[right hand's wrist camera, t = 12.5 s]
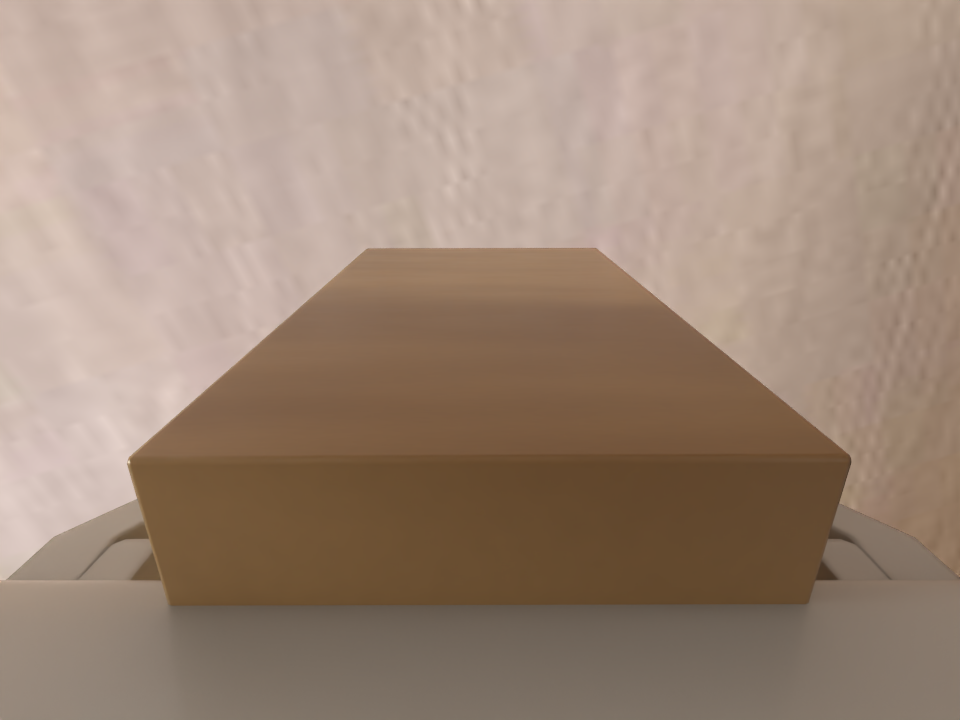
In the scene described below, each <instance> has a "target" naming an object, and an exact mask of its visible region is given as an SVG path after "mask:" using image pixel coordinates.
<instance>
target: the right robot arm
mask: <svg viewBox="0 0 960 720" xmlns="http://www.w3.org/2000/svg"><path fill="white" fill-rule="evenodd" d="M0 720H960V578H959V577H958V576H957V575H956V574H955V573H954V572H953V571H952V570H950V569H949V568H948V567H947V566H946V565H945V564H944V563H943V562H941V561H940V560H939V559H938V558H937V557H936V556H935V555H934V554H933V553H931V552H930V551H929V550H928V549H927V548H926V547H925V546H924V545H922V544H921V543H920V542H919V541H918V540H917V539H916V538H915V537H912V536H910V535H908V534H906V533H903V532H901V531H899V530H897V529H895V528H892V527H890V526H888V525H886V524H884V523H881V522H879V521H877V520H875V519H872V518H870V517H868V516H866V515H864V514H861V513H859V512H857V511H855V510H852V509H850V508H848V507H846V506H844V505H841V504H838V508H837V511H836V514H835V518H834V521H833V524H832V527H831V531H830V534H829V537H828V541H827V544H826V547H825V550H824V554H823V557H822V560H821V564H820V567H819V570H818V574H817V577H816V580H815V583H814V587H813V590H812V593H811V597H810V600H809V603H807V604H672V605H247V606H171V605H168V602H167V599H166V595H165V592H164V588H163V585H162V582H161V578H160V575H159V571H158V568H157V564H156V561H155V558H154V554H153V551H152V547H151V544H150V540H149V537H148V534H147V530H146V527H145V523H144V520H143V517H142V513H141V510H140V506H139V503H138V499H136V500H134V501H132V502H130V503H127V504H125V505H123V506H121V507H119V508H116V509H114V510H112V511H110V512H108V513H105V514H103V515H101V516H99V517H97V518H94V519H92V520H90V521H88V522H86V523H83V524H81V525H79V526H77V527H75V528H72V529H70V530H68V531H66V532H63V533H61V534H59V535H57V536H55V537H53V538H52V539H51V540H50V541H49V542H48V543H47V544H45V545H44V546H43V547H42V548H41V549H40V550H39V551H38V552H37V553H36V554H34V555H33V556H32V557H31V558H30V559H29V560H28V561H27V562H26V563H24V564H23V565H22V566H21V567H20V568H19V569H18V570H17V571H16V572H15V573H13V574H12V575H11V576H10V577H9V578H8V579H7V580H0Z"/></svg>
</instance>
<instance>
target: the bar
mask: <svg viewBox="0 0 960 720" xmlns="http://www.w3.org/2000/svg"><path fill="white" fill-rule="evenodd" d="M127 465H128V469H129V472H130V475H131V479H132V482H133V486H134V489H135V493H136V496H137V499H138V503H139V506H140V510H141V513H142V517H143V520H144V523H145V527H146V530H147V534H148V537H149V540H150V544H151V547H152V551H153V554H154V558H155V561H156V564H157V568H158V571H159V575H160V578H161V582H162V585H163V588H164V592H165V595H166V599H167V602H168V605H171V606H247V605H672V604H807V603H809V600H810V597H811V593H812V590H813V587H814V583H815V580H816V577H817V574H818V570H819V567H820V564H821V560H822V557H823V554H824V550H825V547H826V544H827V541H828V537H829V534H830V531H831V527H832V524H833V521H834V518H835V514H836V511H837V508H838V504H839V501H840V498H841V495H842V491H843V488H844V485H845V481H846V478H847V475H848V472H849V468H850V465H851V458H850V456H849V454H847V453H846V452H845V451H844V450H843V449H841V448H840V447H839V446H838V445H836V444H835V443H834V442H833V441H832V440H830V439H829V438H828V437H827V436H825V435H824V434H823V433H822V432H820V431H819V430H818V429H817V428H816V427H814V426H813V425H812V424H811V423H809V422H808V421H807V420H806V419H805V418H803V417H802V416H801V415H800V414H798V413H797V412H796V411H795V410H794V409H792V408H791V407H790V406H789V405H787V404H786V403H785V402H784V401H783V400H781V399H780V398H779V397H778V396H776V395H775V394H774V393H773V392H772V391H770V390H769V389H768V388H767V387H765V386H764V385H763V384H762V383H761V382H759V381H758V380H757V379H756V378H754V377H753V376H752V375H751V374H750V373H748V372H747V371H746V370H745V369H743V368H742V367H741V366H740V365H739V364H737V363H736V362H735V361H734V360H732V359H731V358H730V357H729V356H728V355H726V354H725V353H724V352H723V351H721V350H720V349H719V348H718V347H717V346H715V345H714V344H713V343H712V342H710V341H709V340H708V339H707V338H706V337H704V336H703V335H702V334H701V333H699V332H698V331H697V330H696V329H694V328H693V327H692V326H691V325H690V324H688V323H687V322H686V321H685V320H683V319H682V318H681V317H680V316H679V315H677V314H676V313H675V312H674V311H672V310H671V309H670V308H669V307H668V306H666V305H665V304H664V303H663V302H661V301H660V300H659V299H658V298H657V297H655V296H654V295H653V294H652V293H650V292H649V291H648V290H647V289H646V288H644V287H643V286H642V285H641V284H639V283H638V282H637V281H636V280H635V279H633V278H632V277H631V276H630V275H628V274H627V273H626V272H625V271H624V270H622V269H621V268H620V267H619V266H617V265H616V264H615V263H614V262H613V261H611V260H610V259H609V258H608V257H606V256H605V255H604V254H603V253H602V252H600V251H599V250H598V249H596V248H385V249H366V250H365V251H364V252H363V253H362V254H360V255H359V256H358V257H357V258H356V259H355V260H354V261H352V262H351V263H350V264H349V265H348V266H347V267H346V268H344V269H343V270H342V271H341V272H340V273H339V274H338V275H336V276H335V277H334V278H333V279H332V280H331V281H330V282H329V283H327V284H326V285H325V286H324V287H323V288H322V289H321V290H319V291H318V292H317V293H316V294H315V295H314V296H313V297H311V298H310V299H309V300H308V301H307V302H306V303H305V304H303V305H302V306H301V307H300V308H299V309H298V310H297V311H295V312H294V313H293V314H292V315H291V316H290V317H289V318H287V319H286V320H285V321H284V322H283V323H282V324H281V325H279V326H278V327H277V328H276V329H275V330H274V331H273V332H271V333H270V334H269V335H268V336H267V337H266V338H265V339H263V340H262V341H261V342H260V343H259V344H258V345H257V346H255V347H254V348H253V349H252V350H251V351H250V352H249V353H248V354H246V355H245V356H244V357H243V358H242V359H241V360H240V361H238V362H237V363H236V364H235V365H234V366H233V367H232V368H230V369H229V370H228V371H227V372H226V373H225V374H224V375H222V376H221V377H220V378H219V379H218V380H217V381H216V382H214V383H213V384H212V385H211V386H210V387H209V388H208V389H206V390H205V391H204V392H203V393H202V394H201V395H200V396H198V397H197V398H196V399H195V400H194V401H193V402H192V403H190V404H189V405H188V406H187V407H186V408H185V409H184V410H182V411H181V412H180V413H179V414H178V415H177V416H176V417H174V418H173V419H172V420H171V421H170V422H169V423H168V424H167V425H165V426H164V427H163V428H162V429H161V430H160V431H159V432H157V433H156V434H155V435H154V436H153V437H152V438H151V439H149V440H148V441H147V442H146V443H145V444H144V445H143V446H141V447H140V448H139V449H138V450H137V451H136V452H135V453H133V454H132V455H131V456H130V457H129V459H128V463H127Z"/></svg>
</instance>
